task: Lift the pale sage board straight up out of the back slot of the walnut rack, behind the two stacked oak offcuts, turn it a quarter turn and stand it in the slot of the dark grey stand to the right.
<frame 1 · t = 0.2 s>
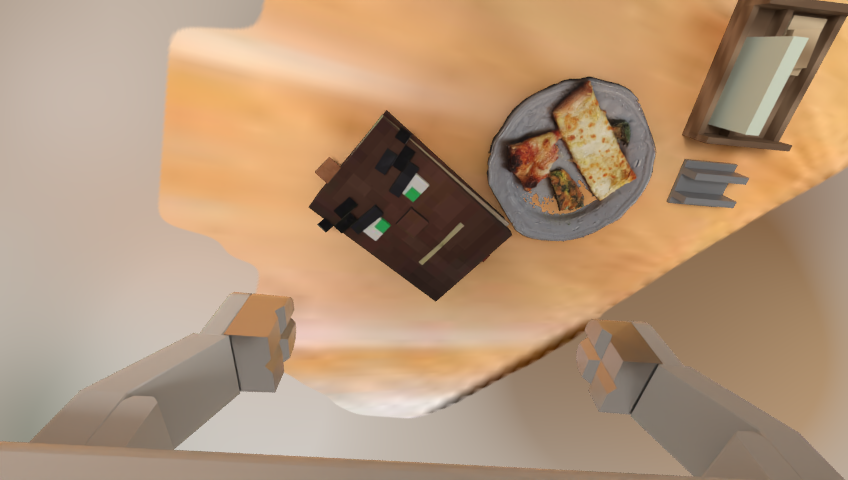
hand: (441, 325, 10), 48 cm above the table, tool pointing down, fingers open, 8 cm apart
rack: (749, 77, 51), on the table
food plate: (565, 163, 57), on the table
board: (731, 83, 50), point 1 cm above the table, touching rack
stand: (699, 183, 58), on the table
offcut upper: (793, 49, 47), point 2 cm above the table, touching offcut lower
offcut lower: (788, 46, 48), point 1 cm above the table, touching offcut upper, rack
decorative book: (413, 203, 60), on the table
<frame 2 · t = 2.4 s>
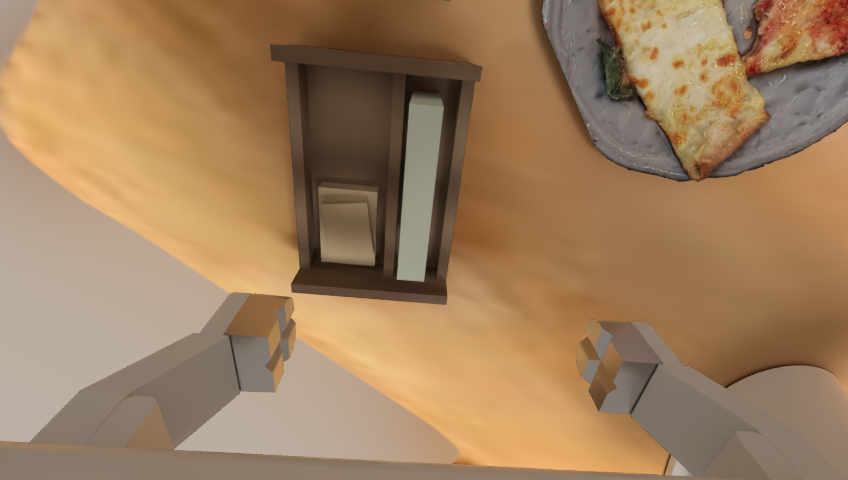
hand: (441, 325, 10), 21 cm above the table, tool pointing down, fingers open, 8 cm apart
rack: (381, 173, 29), on the table
board: (419, 168, 28), point 1 cm above the table, touching rack
offcut upper: (350, 225, 29), point 2 cm above the table, touching offcut lower
offcut lower: (350, 222, 30), point 1 cm above the table, touching offcut upper, rack
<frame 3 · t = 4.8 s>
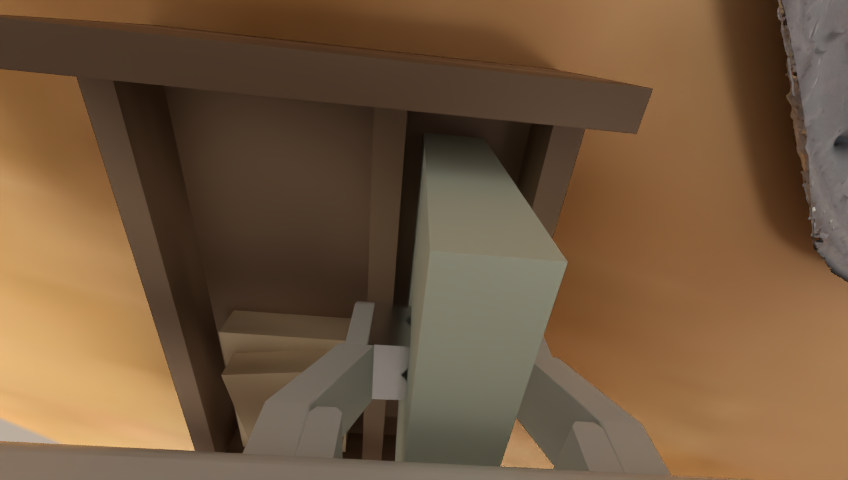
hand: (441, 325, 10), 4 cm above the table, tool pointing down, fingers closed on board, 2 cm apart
rack: (356, 284, 15), on the table
board: (433, 287, 13), point 1 cm above the table, touching gripper, rack
offcut upper: (293, 393, 14), point 2 cm above the table, touching offcut lower
offcut lower: (298, 374, 16), point 1 cm above the table, touching offcut upper, rack
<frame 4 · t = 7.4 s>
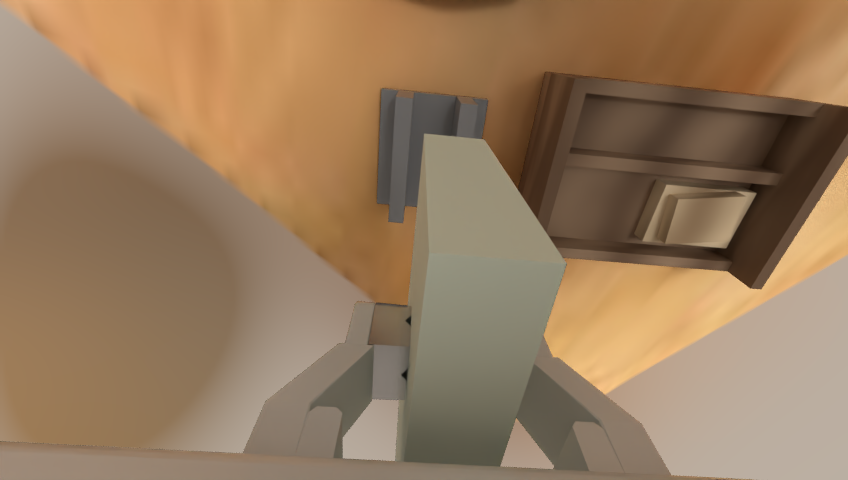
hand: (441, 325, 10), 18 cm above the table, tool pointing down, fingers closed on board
rack: (637, 172, 27), on the table
board: (433, 288, 13), point 15 cm above the table, touching gripper
stand: (428, 152, 26), on the table
offcut upper: (694, 215, 26), point 2 cm above the table, touching offcut lower
offcut lower: (687, 211, 27), point 1 cm above the table, touching offcut upper, rack
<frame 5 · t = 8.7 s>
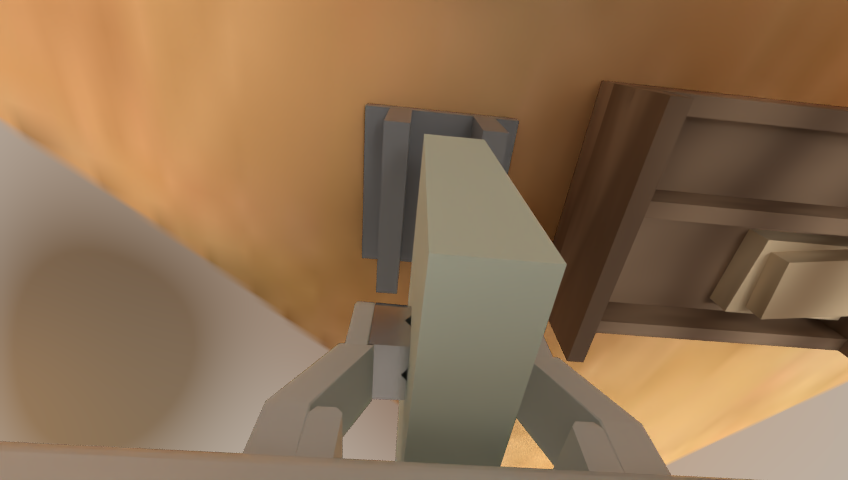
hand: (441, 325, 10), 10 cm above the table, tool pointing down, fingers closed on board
rack: (718, 217, 20), on the table
board: (434, 288, 13), point 7 cm above the table, touching gripper
stand: (432, 191, 19), on the table
offcut upper: (802, 279, 19), point 2 cm above the table, touching offcut lower
offcut lower: (785, 269, 20), point 1 cm above the table, touching offcut upper, rack
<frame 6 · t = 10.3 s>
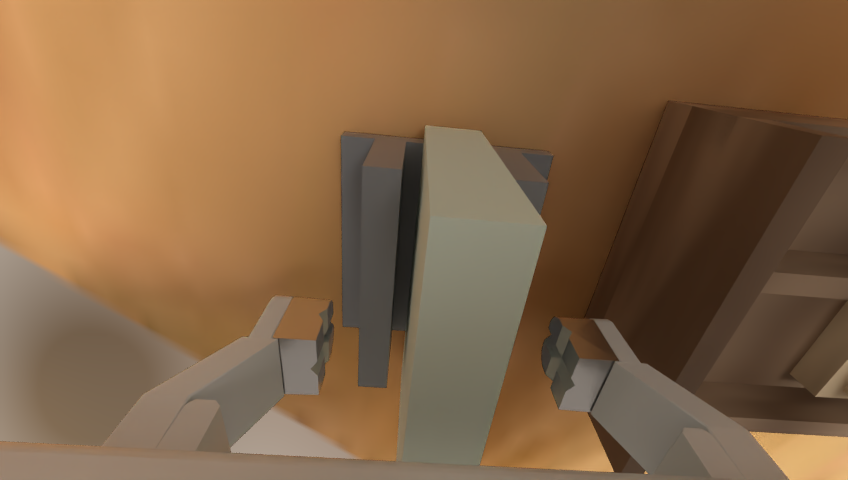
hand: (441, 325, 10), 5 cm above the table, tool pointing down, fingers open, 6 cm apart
rack: (806, 274, 15), on the table
board: (434, 272, 14), point 1 cm above the table, touching stand
stand: (434, 243, 14), on the table
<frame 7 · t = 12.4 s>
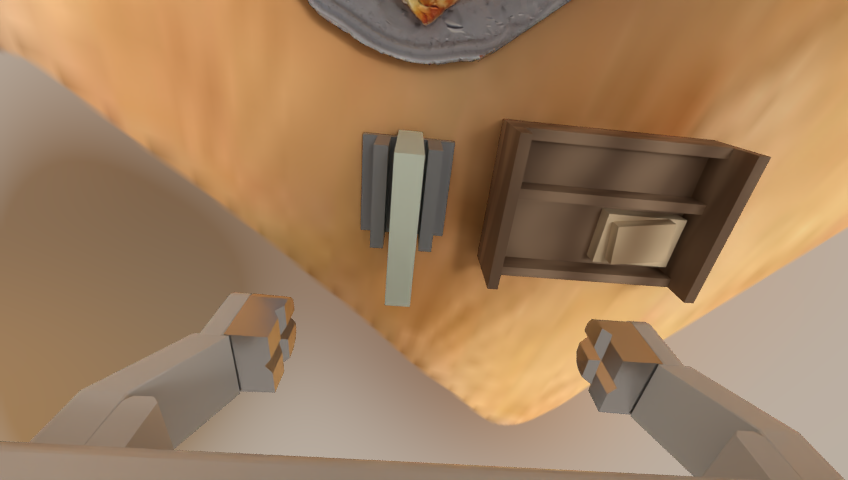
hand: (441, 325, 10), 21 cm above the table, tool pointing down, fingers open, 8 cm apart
rack: (587, 202, 31), on the table
board: (405, 199, 30), point 1 cm above the table, touching stand
stand: (405, 186, 30), on the table
offcut upper: (636, 239, 30), point 2 cm above the table, touching offcut lower
offcut lower: (631, 235, 31), point 1 cm above the table, touching offcut upper, rack
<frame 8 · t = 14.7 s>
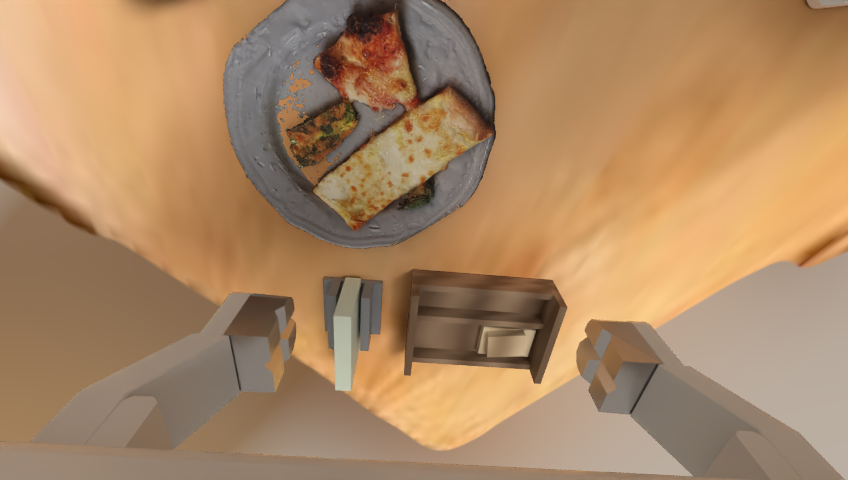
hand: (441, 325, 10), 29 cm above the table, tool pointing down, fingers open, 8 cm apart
rack: (475, 313, 47), on the table
food plate: (366, 127, 36), on the table
board: (353, 314, 46), point 1 cm above the table, touching stand
stand: (353, 305, 46), on the table
offcut upper: (504, 340, 46), point 2 cm above the table, touching offcut lower
offcut lower: (504, 335, 47), point 1 cm above the table, touching offcut upper, rack
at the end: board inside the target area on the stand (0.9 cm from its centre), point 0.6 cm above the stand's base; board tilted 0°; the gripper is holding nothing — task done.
